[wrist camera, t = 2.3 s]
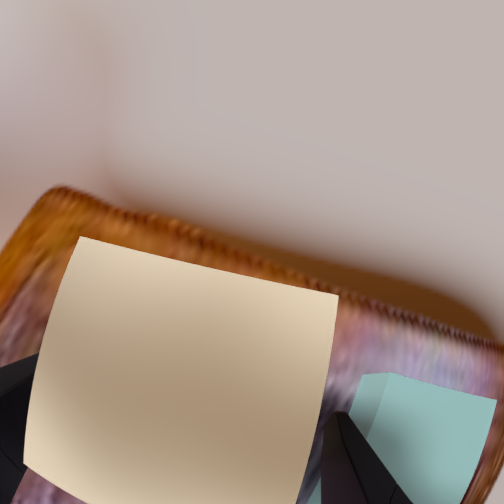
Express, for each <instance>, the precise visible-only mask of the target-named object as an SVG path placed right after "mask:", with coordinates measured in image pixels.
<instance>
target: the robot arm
mask: <svg viewBox="0 0 504 504" xmlns="http://www.w3.org/2000/svg"><path fill="white" fill-rule="evenodd" d="M39 353H40V352H39ZM39 353H37V354H34V355H32V356H29V357H26V358H24V359H21V360H19V361H16V362H13V363H11V364H8V365H6V366H3V367H0V504H10V503H11V501H12V499H13V497H14V495H15V492H16V490H17V488H18V486H19V484H20V482H21V480H22V478H23V476H24V474H25V472H26V470H27V468H28V466H26V465H25V464H24V463H23V462H24V445H25V433H26V424H27V416H28V409H29V402H30V396H31V391H32V385H33V380H34V375H35V370H36V366H37V362H38V357H39ZM321 504H413V502H412V501H411V500H410V499H409V498H408V496H407V495H406V494H405V493H404V491H403V490H402V489H401V487H400V486H399V484H397V482H396V480H395V479H394V478H393V476H392V475H391V474H390V472H389V471H388V469H387V468H386V467H385V465H384V464H383V463H382V461H381V460H380V458H379V457H378V456H377V454H376V453H375V451H374V450H373V449H372V447H371V446H370V444H369V443H368V442H367V440H366V439H365V437H364V436H363V435H362V433H361V432H360V430H359V429H358V428H357V426H356V425H355V423H354V422H353V420H352V419H351V418H350V416H349V415H348V413H346V412H345V411H334V412H333V413H332V415H331V416H330V418H329V420H328V421H327V423H326V424H325V427H324V436H323V447H322V457H321Z"/></svg>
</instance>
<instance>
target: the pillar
mask: <svg viewBox="0 0 504 504" xmlns="http://www.w3.org/2000/svg"><path fill="white" fill-rule="evenodd" d="M337 305H338V295H333V294H328V293H323V292H318V291H314V290H309V289H304V288H299V287H294V286H289V285H285V284H280V283H275V282H271V281H266V280H261V279H257V278H252V277H248V276H243V275H239V274H234V273H230V272H225V271H221V270H217V269H212V268H208V267H203V266H199V265H195V264H191V263H186V262H182V261H178V260H174V259H169V258H165V257H161V256H157V255H153V254H149V253H145V252H141V251H136V250H132V249H128V248H124V247H120V246H116V245H113V244H109V243H105V242H101V241H97V240H93V239H89V238H85V237H82V236H80V238H79V240H78V243H77V245H76V247H75V249H74V252H73V254H72V257H71V259H70V261H69V264H68V266H67V269H66V271H65V274H64V277H63V279H62V282H61V285H60V287H59V290H58V293H57V296H56V299H55V302H54V305H53V308H52V311H51V314H50V317H49V321H48V324H47V327H46V331H45V334H44V338H43V342H42V345H41V349H40V353H39V357H38V362H37V366H36V370H35V375H34V380H33V385H32V391H31V396H30V402H29V409H28V416H27V424H26V433H25V445H24V462H23V463H24V464H25V465H26V466H28V467H29V468H31V469H32V470H33V471H35V472H36V473H38V474H39V475H41V476H42V477H44V478H45V479H47V480H48V481H50V482H51V483H53V484H55V485H56V486H58V487H59V488H61V489H63V490H65V491H66V492H68V493H70V494H71V495H73V496H75V497H77V498H79V499H81V500H82V501H84V502H86V503H88V504H296V500H297V497H298V494H299V491H300V487H301V484H302V481H303V477H304V473H305V470H306V466H307V463H308V459H309V455H310V451H311V447H312V443H313V439H314V435H315V431H316V426H317V422H318V417H319V413H320V408H321V403H322V398H323V393H324V388H325V383H326V377H327V372H328V366H329V360H330V354H331V348H332V341H333V335H334V328H335V320H336V313H337Z"/></svg>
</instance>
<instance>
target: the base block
mask: <svg viewBox="0 0 504 504" xmlns="http://www.w3.org/2000/svg"><path fill="white" fill-rule="evenodd" d="M496 402H497V400H493V399H489V398H484V397H480V396H476V395H471V394H467V393H463V392H459V391H455V390H451V389H447V388H444V387H440V386H436V385H433V384H429V383H425V382H422V381H418V380H415V379H411V378H408V377H405V376H401V375H398V374H395V373H392V372H386V373H376V374H365V375H362V378H361V381H360V384H359V387H358V390H357V393H356V396H355V398H354V401H353V404H352V407H351V409H350V412H349V414H348V415H349V416H350V418H351V419H352V420H353V422H354V423H355V425H356V426H357V428H358V429H359V430H360V432H361V433H362V435H363V436H364V437H365V439H366V440H367V442H368V443H369V444H370V446H371V447H372V449H373V450H374V451H375V453H376V454H377V456H378V457H379V458H380V460H381V461H382V463H383V464H384V465H385V467H386V468H387V469H388V471H389V472H390V474H391V475H392V476H393V478H394V479H395V480H396V482H397V484H399V486H400V487H401V489H402V490H403V491H404V493H405V494H406V495H407V496H408V498H409V499H410V500H411V501H412V502H413V504H460V502H461V500H462V498H463V496H464V494H465V492H466V490H467V488H468V485H469V483H470V481H471V479H472V476H473V474H474V471H475V469H476V466H477V464H478V461H479V459H480V456H481V453H482V450H483V447H484V444H485V441H486V438H487V435H488V432H489V429H490V425H491V422H492V418H493V414H494V410H495V406H496ZM307 504H321V477H320V479H319V481H318V483H317V485H316V487H315V489H314V491H313V493H312V495H311V496H310V498H309V500H308V502H307Z"/></svg>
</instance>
